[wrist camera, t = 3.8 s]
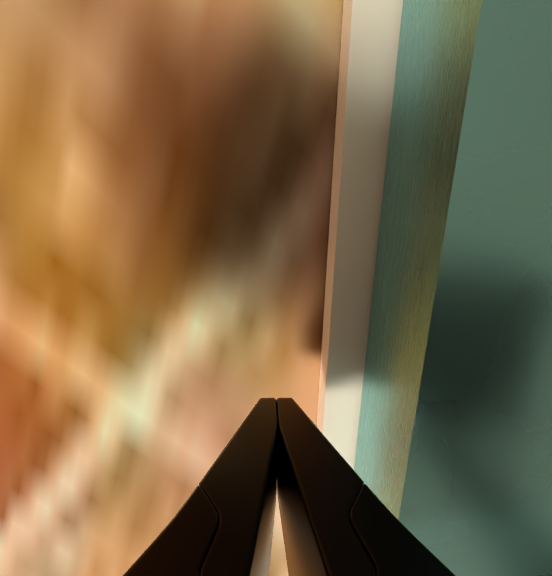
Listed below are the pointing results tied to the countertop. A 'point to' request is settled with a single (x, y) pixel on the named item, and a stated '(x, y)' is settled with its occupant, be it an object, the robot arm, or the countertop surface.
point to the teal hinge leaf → (466, 290)
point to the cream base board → (355, 210)
